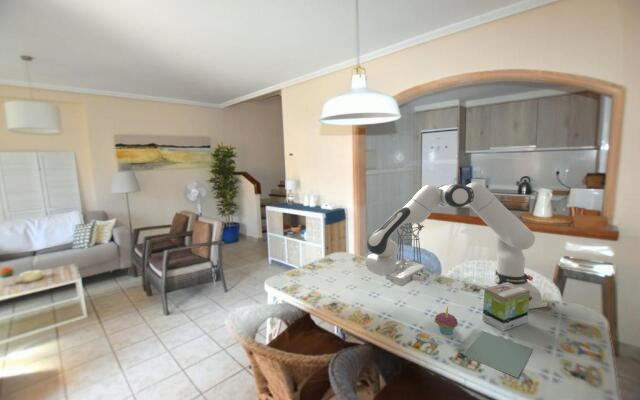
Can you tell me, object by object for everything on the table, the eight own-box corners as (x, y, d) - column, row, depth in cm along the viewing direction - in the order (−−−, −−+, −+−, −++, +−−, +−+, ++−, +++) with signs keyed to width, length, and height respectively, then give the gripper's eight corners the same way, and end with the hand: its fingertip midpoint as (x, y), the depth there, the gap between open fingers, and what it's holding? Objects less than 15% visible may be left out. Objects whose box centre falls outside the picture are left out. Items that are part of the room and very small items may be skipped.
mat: (474, 328, 123) (474, 327, 123) (533, 349, 108) (533, 348, 108) (454, 351, 109) (454, 350, 109) (517, 379, 95) (517, 377, 95)
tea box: (504, 332, 119) (506, 297, 117) (481, 320, 128) (483, 287, 126) (528, 322, 125) (530, 289, 123) (505, 311, 134) (506, 280, 132)
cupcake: (459, 338, 116) (460, 309, 115) (436, 336, 118) (437, 308, 116) (454, 325, 125) (455, 299, 123) (433, 324, 126) (433, 297, 125)
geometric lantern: (398, 276, 177) (397, 218, 173) (394, 267, 193) (393, 214, 188) (425, 276, 175) (425, 217, 171) (419, 267, 191) (418, 213, 187)
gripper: (383, 270, 128) (412, 279, 118) (408, 258, 142) (436, 265, 132) (383, 284, 129) (412, 294, 119) (408, 270, 142) (436, 278, 132)
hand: (425, 278), depth 125 cm, fingers closed
